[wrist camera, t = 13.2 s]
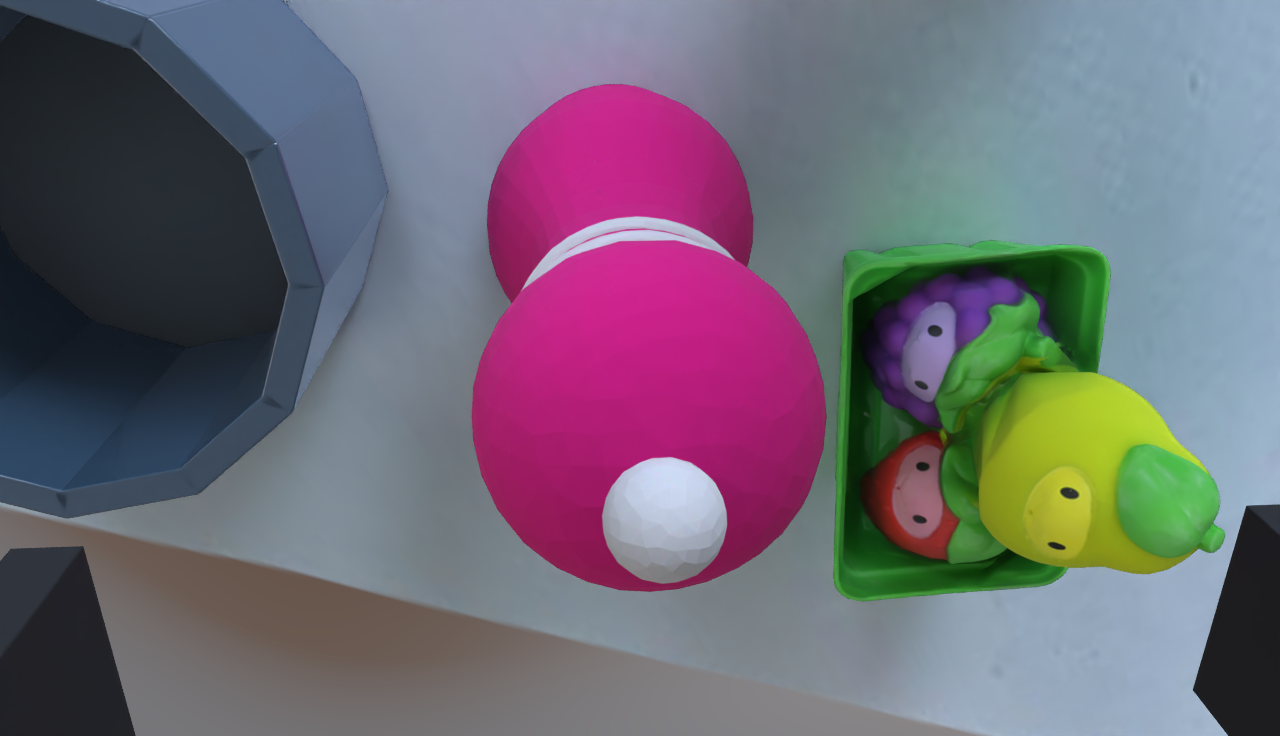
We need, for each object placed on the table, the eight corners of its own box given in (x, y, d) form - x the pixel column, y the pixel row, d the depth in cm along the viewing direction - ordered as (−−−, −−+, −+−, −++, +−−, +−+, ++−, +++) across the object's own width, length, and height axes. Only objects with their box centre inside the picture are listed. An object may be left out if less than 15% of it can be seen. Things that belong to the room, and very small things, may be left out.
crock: (136, -156, 27) (-51, -182, 19) (467, 194, 32) (430, 294, 24) (-144, 152, 30) (-411, 244, 22) (196, 434, 35) (79, 598, 26)
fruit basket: (804, 214, 33) (911, 356, 22) (1078, 195, 33) (1306, 326, 23) (800, 518, 37) (887, 750, 27) (1040, 498, 38) (1215, 721, 27)
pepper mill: (719, 51, 31) (938, 267, 12) (737, 280, 34) (934, 724, 15) (478, 82, 30) (339, 343, 12) (517, 308, 33) (453, 788, 15)
